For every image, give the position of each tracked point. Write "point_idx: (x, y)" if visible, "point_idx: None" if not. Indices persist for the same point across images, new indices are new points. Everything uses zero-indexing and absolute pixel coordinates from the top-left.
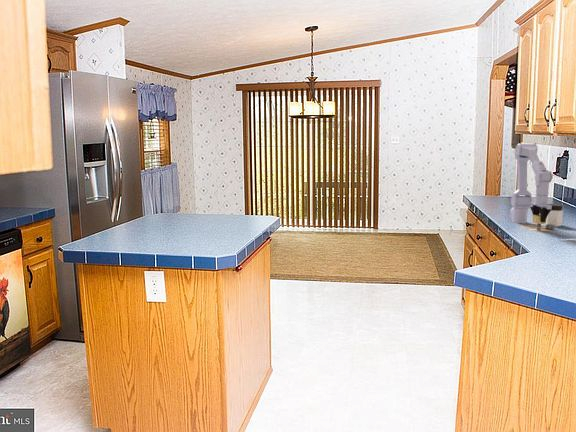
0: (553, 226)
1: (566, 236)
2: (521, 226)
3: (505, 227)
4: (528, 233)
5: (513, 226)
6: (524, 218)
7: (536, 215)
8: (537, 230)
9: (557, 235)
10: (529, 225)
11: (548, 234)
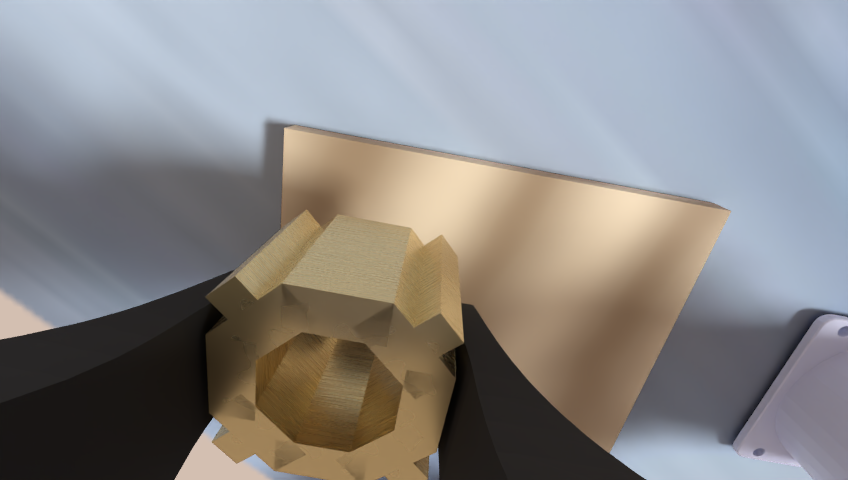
0: None
1: None
2: (653, 209)
3: (830, 7)
4: (313, 6)
5: (795, 202)
6: (844, 460)
7: (312, 304)
8: (341, 199)
9: (156, 278)
10: (645, 355)
11: (217, 228)
